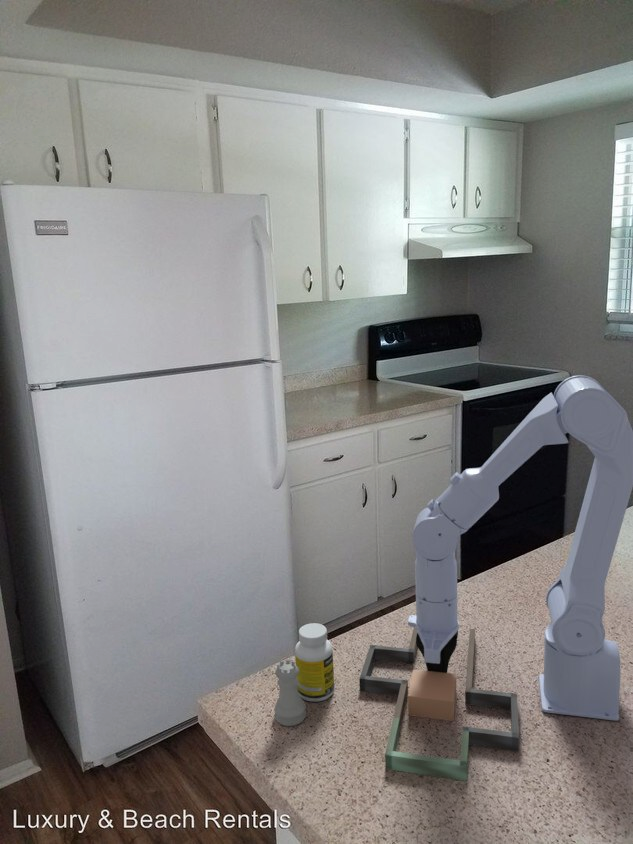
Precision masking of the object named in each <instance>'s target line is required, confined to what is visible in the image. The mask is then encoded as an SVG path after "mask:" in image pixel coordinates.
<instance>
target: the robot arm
mask: <svg viewBox="0 0 633 844" xmlns="http://www.w3.org/2000/svg"><path fill="white" fill-rule="evenodd" d="M628 418H629V417H628V413H627V411H626V410H625V409H624V408H623V406H622V405H621V404H619V402H618V401H617V400H616V399H615V398H614V397H613V396H612V395H611V393H609V392H608V391H607V390H606V388H604V387H603V385H602V384H601V383H599V382H598V381H597V379H594V378H592V377H591V376H587V375H582V374H581V375H572V376H570V377H567V378H566V379H564V380H562V381H561V382H560V383H559V384H558V385H557V387H556V388H555V390H554V393H553V392H550V393H549V394H547V395H545V396H544V397H543V398H542V399H541V400H540V401H539V402H538V404H536V405H535V407H534V408H533V409H532V410H531V411H530V412H529V413H528V414H527V415H526V416H525V418H524V419H523V420H522V421H521V422H520V423H519V424H518V425H517V426H516V428H515V429H513V431H512V432H511V433H510V435H508V436H507V438H506V439H505V440H504V441H503V442H502V443H501V444H500V446H499V447H497V448H496V450H495V451H494V452H493V453H492V454H491V455H490V457H488V459H487V460H486V461H485V462H484V463H483V464H482V466H480V467H472V468H471V467H470V468H465V470H463V471H462V473H459V472H458V471H457V472H455V473H453V475H452V476H451V477H450V483H451V484H450V485H449V486H448V487H447V488H446V489H445V490H444V491H443V492H442V493H441V494H440V495H439V496H438V497H437V498H436V499H435V500H434V499H432V498H431V500H430V501H429V502H428V503H427V506H426V507H425V508H424V509H422V510H421V511H420V512H419V513H418V515H417V517H416V520H415V524H414V528H413V532H412V545H413V547H414V549H415V550H414V551H415V552H414V555H415V558H416V559H415V561H414V577H415V579H414V583H415V584H414V585H415V615H414V614H413V615H409V616H408V619H407V625H408V627H410V628H411V627H413V628H414V627H415V628H416V629H417V632H418V633H417V636H416V645H417V650H419V652H420V653H421V655H422V658H423V662H424V664H425V666H426V671H433V672H442V673H448V669H449V664H450V659H451V657H452V655H453V653H454V652H455V651H456V649H457V645H458V635H459V629H460V620H459V618H458V616H459V615H458V614H459V613H458V611H459V610H458V562H457V559H456V550H457V547H458V539H459V536H460V535H463V534H465V533H466V532H467V531H469V529H471V528H472V526H474V525H475V524H476V523H477V522H478V520H480V519H481V518H482V517H483V516H484V515H485V514H486V513H487V512H488V511H489V510H490V509H491V508H492V507H493V506H494V505H495V504H496V503H497V502H498V501H499V499H500V492H499V486H500V485H501V484H502V483H504V482H505V481H506V480H507V479H508V478H509V477H510V476H511V475H513V474H514V472H515V471H517V470H518V469H519V468H520V467H522V466H523V464H525V462H527V461H528V460H529V459H530V458H531V457H532V456H534V455H535V454H536V453H537V452H538V451H539V450H540V449H541V448H543V446H548V445H550V446H551V445H564V444H569V443H570V442H569V440H568V438H567V436H566V434H569V435H571V436H572V437H573V438H575V439H576V440H577V441H579V442H581V443H583V444H585V446H587V448H588V449H589V451H590V452H591V453H592V455H593V456H594V458H593V459H594V460H593V463H592V467H591V470H590V475H589V478H588V482H587V486H586V489H585V492H584V497H583V500H582V504H581V508H580V512H579V516H578V519H577V523H576V527H575V531H574V533H573V537H572V542H571V545H570V550H569V553H568V556H567V560H566V563H565V565H564V566H563V567H561V569H560V570H559V574H558V578H557V579H556V580H555V582H554V583H553V584H552V585H551V586H549V588H548V590H547V591H546V594H545V595H546V596H545V603H546V606H547V609H548V612H549V617H550V618H549V619H550V623H549V624H548V626H547V627H545V628H546V629H544V647H543V648H544V655H543V657H544V658H543V659H544V660H543V673H540V674H539V675H538V684H539V693H540V702H541V703H540V705H541V710H542V712H544V713H548V714H549V713H550V714H558V715H565V716H574V717H583V718H592V719H597V720H599V719H600V720H609V721H617V722H618V721H620V714H619V707H620V692H621V691H620V690H621V676H622V675H621V672H622V670H621V658H620V657H621V656H620V651H619V646H618V643H617V642H616V641H615V640H614V641H613V640H610V639H607V638H606V630H605V626H604V623H603V616H604V613H605V608H606V606H605V604H606V603H605V602H606V591H605V590H606V589H605V588H606V587H605V585H606V581H607V577H608V574H609V571H610V567H611V563H612V560H613V556H614V552H615V550H616V546H617V542H618V538H619V535H620V533H621V529H622V524H623V522H624V518H625V514H626V512H627V508H628V504H629V502H630V497H631V495H632V494H631V493H632V490H633V429H632V425H631V424H630V421H629V419H628Z"/></svg>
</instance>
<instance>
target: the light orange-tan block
mask: <svg viewBox="0 0 633 844" xmlns="http://www.w3.org/2000/svg"><path fill="white" fill-rule="evenodd" d="M456 698H457V674H456V673H451V672H447V673H442V672H433V671H427V670H422V669H412V674H411V679H410V684H409V688H408V695H407V710H408V711H407V713H408V714H407V715H408V716H414V717H421V718H429V719H437V720H442V721H443V720H444V721H453V722H454V719H455V710H456V700H457V699H456Z"/></svg>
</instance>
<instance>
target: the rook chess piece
mask: <svg viewBox="0 0 633 844" xmlns="http://www.w3.org/2000/svg"><path fill="white" fill-rule="evenodd" d="M285 661H286V662H284V660H281V661H279V663H278V664H277V666H276V669H275V672H274V674H275V676H276V677H277V678H278V679H277V685H278V686H279V689H278V690H279V693H278V698H277V700H276V702H275V704H274V713H273V716H274V719H275V721H276V722H278V723H279V724H280V725H282V726H284V727H294V726H298V725H299V724H301V723H302V722H303V721H304V719H305V718H306V716H307V713H308V712H307V710H306V709H307V708H306V707H307V706H306V703H305V702H304V701H305V700H304V699H303V698H301V696H299V692H298V687H297V683H298V678H297V677H296V676H297V675H298V674H299V668H298V667H297V666H296V662H295V661H294V660H291V659H286V660H285Z"/></svg>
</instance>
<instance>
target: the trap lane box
mask: <svg viewBox="0 0 633 844" xmlns="http://www.w3.org/2000/svg"><path fill="white" fill-rule="evenodd" d="M417 633H418V632H417V629H416V628H415V627H413V630H412V634H411V638H410V641H409V647H408V648H406V647H405V648H404V647H396V646H395V647H394V646H384V645H374V644H370V645H369V648H368V651H367V654H366V656H365V657H366V658H365V660H364V663H363V666H362V670H361V672H360V676H359V678H358V679H359V691H360V692H365V693H366V692H368V693H375V694H376V693H377V694H385V695H392V696H397V700H396V704H395V709H394V713H393V717H392V722H391V727H390V731H389V734H388V739H387V744H386V749H385V754H384V765H385V769H386V770H392V771H398V772H404V773H410V774H418V775H425V776H430V775H431V776H432V777H438V778H445V779H451V780H458V781H464V782H467V781H468V770H469V769H468V768H469V766H468V765H469V748H470V746H475V747H481V748H489V749H496V750H503V751H511V752H518V753H519V752H520V731H519V730H520V729H519V728H520V727H519V712H518V711H519V709H518V708H519V707H518V706H519V705H518V693H515V692H506V691H504V692H503V691H495V690H488V689H479V688H473V682H474V680H473V679H474V663H475V648H476V646H475V645H476V628H469V634H468V635H469V636H468V646H467V647H468V649H467V661H466V662H467V663H466V665H467V666H466V674H465V675H466V676H465V689H464V690H465V693H464V699H465V701H464V703H465V705H469V706H477V707H484V708H492V709H501V710H502V709H503V710H510V725H511V731H502V730H495V729H489V728H488V729H487V728H481V727H473V726H464V725H462V729H461V742H460V755H459V756H460V757H459V758H460V759H459V760H457V759H451V758H446V757H445V758H444V757H438V756H430V755H424V754H416V753H409V752H404V751H397V747H398V744H399V737H400V733H401V729H402V722H403V718H404V714H405V709H406V704H407V701H408V693H409V688H408V687H409V684H408V680H407V679H397V678H389V677H379V676H372V675H371V674H372V672H373V668H374V664H375V661H382V662H393V663H402V664H410V665H414V664H415V661H416V660H415V659H416V655H417V650H418V647H417V645H416V636H417Z"/></svg>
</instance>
